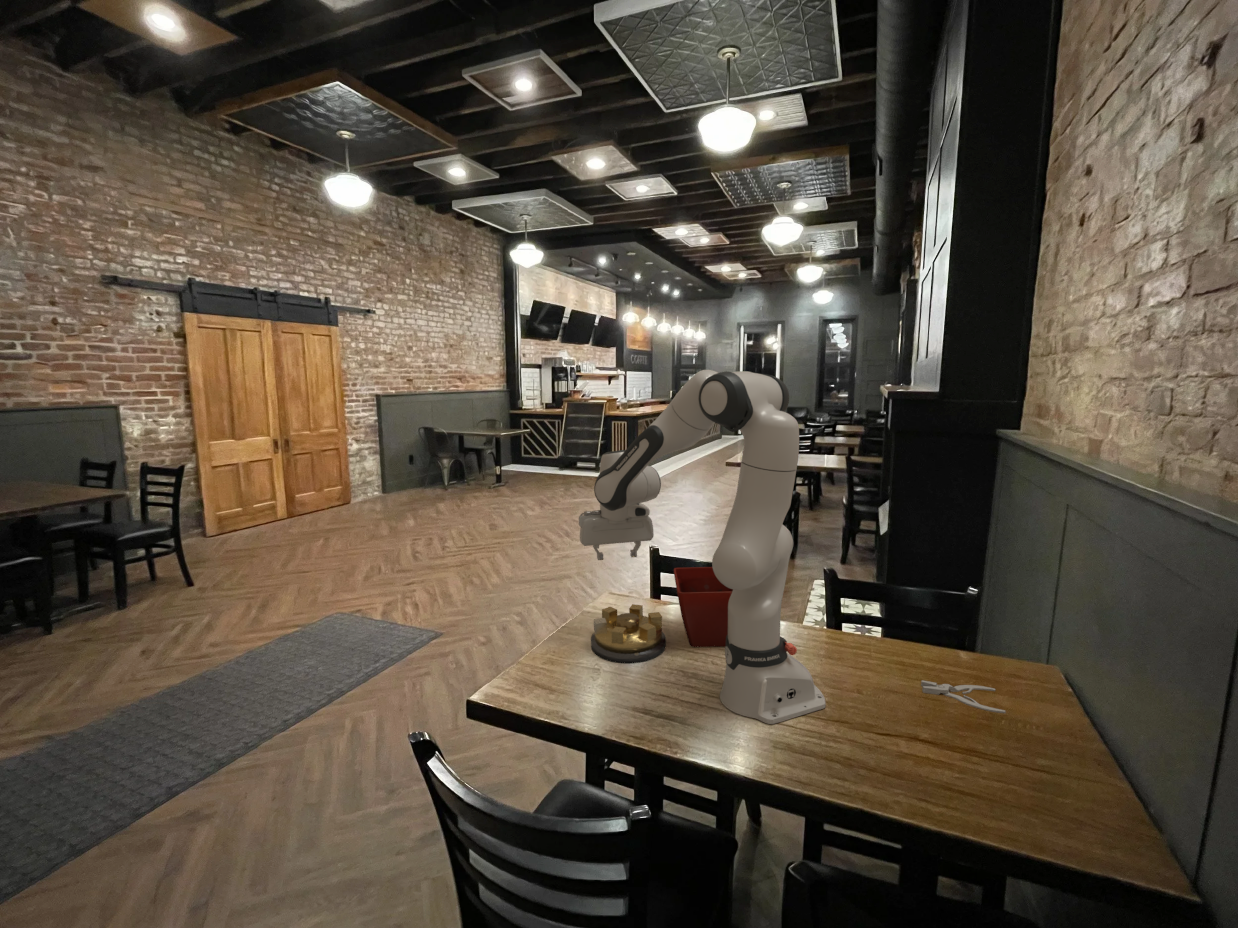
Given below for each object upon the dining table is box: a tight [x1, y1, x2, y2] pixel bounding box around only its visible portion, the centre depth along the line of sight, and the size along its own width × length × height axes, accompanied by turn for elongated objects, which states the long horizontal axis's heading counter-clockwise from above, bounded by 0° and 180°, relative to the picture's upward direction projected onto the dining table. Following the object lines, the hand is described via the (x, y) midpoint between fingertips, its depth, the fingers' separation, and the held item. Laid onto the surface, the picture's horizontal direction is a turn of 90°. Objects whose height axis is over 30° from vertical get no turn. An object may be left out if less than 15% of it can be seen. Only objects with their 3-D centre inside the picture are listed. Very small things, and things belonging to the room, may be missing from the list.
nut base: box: [590, 631, 667, 664], centre depth 151 cm, size 20×20×2 cm
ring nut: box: [593, 603, 663, 653], centre depth 150 cm, size 18×18×6 cm
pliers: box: [920, 679, 1007, 714], centre depth 124 cm, size 10×2×15 cm
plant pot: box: [673, 566, 733, 648], centre depth 153 cm, size 19×19×17 cm
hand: (617, 558), depth 155 cm, fingers open, 8 cm apart
